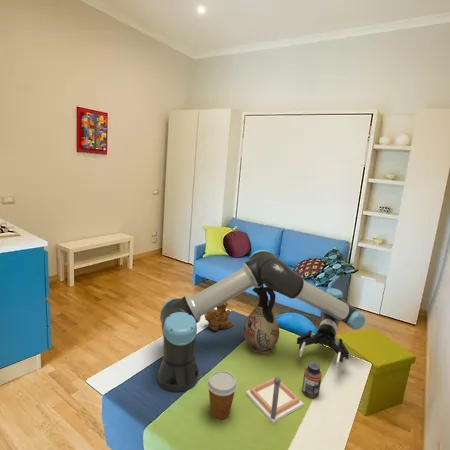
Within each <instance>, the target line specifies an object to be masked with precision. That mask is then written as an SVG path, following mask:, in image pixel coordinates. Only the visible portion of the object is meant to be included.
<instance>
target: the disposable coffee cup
mask: <svg viewBox="0 0 450 450" xmlns="http://www.w3.org/2000/svg"><path fill="white" fill-rule="evenodd" d="M207 387H208V393H209V394H208V395H209V397H208V398H209V407H210V415H211V417H212V418H214V419H217V420H221V421H222V420H226V419H227V418H229V416H230V414H231V411H232V406H233V401H234V396H235V391H236V390H237V388H238V382H237V379H236V377H235V376H234V374H233V373H231V372H230V371H226V370H217V371H214V372H213V373H212V374H210V376H209V377H208V379H207Z"/></svg>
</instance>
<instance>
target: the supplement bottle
mask: <svg viewBox="0 0 450 450" xmlns="http://www.w3.org/2000/svg"><path fill="white" fill-rule="evenodd" d="M320 368H321V365H320V364H319V363H318V362H315V361H310V362H308V365H307V366H306V368H304V373H303V374H304V375H303V379H302V380H303V382H302V386H301V387H302V389H301V390H302V393H303V394H304V395H305V396H306V397H308V398H311V399H315V398H318V396H319V394H320V388H321V384H322V383H321V382H322V376H323V373H322V370H321V369H320Z"/></svg>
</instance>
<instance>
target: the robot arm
mask: <svg viewBox="0 0 450 450" xmlns="http://www.w3.org/2000/svg"><path fill="white" fill-rule="evenodd" d="M262 285H264V287H268V288H270V289H272V290H273V291H274V292H276V293H278V294H281V295H283V296H284V297H287V298H288V299H292V300H294V299H297V300H299V301H300V302H303V303H305V304H306V305H309V306H311V307H312V308H315V309H317V310H318V311H321V312H322V316H321V321H320V322H319V323H320V324H319V326H318V329H317V331H316V333H314V332H313V331H312V330H311V329H309V331H308V332H306V333H304V334H302V335H301V336H299V337H297V338H296V339H297V340H296V344H297V345H298V350H299V357H300V358H302V357H303V354H304V351H305V350H306V349H305V348H306V347H307V346H310V345H311V346H312V345H313V344H315V345H319V344H320V345H323V346H326V347H328V348H330V349H331V350H332V351H333V352H334V353H335V354H336V355H337V358H336V362H335V363H336V364H335V369H339V364H340V363H343V362H344V361H343V360H344V359H345V360H348V359H349V355H350V352H349V351H348V349H347V347H346V345H345V344H344V343H343V339H342V338H339V339H336V335H337V332H338V328H339V324H340V322H342V323H344V324H346V325H347V326H348V328H351V329H352V330H355V331H356V330H360V329H362V328H363V327H364V325H365V323H366V317H365V315H364V314H363V313H362V312H361V311H360V310H358V309H357V308H355V307H354V306H353V305H351V304H350V303H348V302H347V301H346V300H344V299H343V295H344V294H343V291H341V290H340V289H338V288H333V287H331V288H326V290H325V291H324V290H322V289H320V288H318V287H316V286H315V285H313V284H311V283H309V282H307V281H306V280H305V279H304V277H303V276H301V275H299V274H298V273H296V272H295V271H294V270H293V269H292V268H290V267H289V266H288V264H286V263H285V261H282V260H281V259H280V258H278V257H277V256H276V255H275V254H274V253H272V252H271V251H268V250H266V249H260V250H256V251H254V252H252V253H251V254H250V256H249V259H248V260H247V261H246V262H244V263H243V264H242V268H240V269H238V270H236V271H234V272H233V273H231V274H230V275H227V276H226V277H224V278H222V279H221V280H219V281H217V282H215V283H214V284H212V285H210V286H208V287H207V288H204V289H203V290H201V291H200V292H198V293H195V294H194V295H192V296H188V295H185V296H183V297H179V298H178V297H173V298H170V299H168V300H166V301H165V303H164V304H163V305H162V307H161V310H160V317H159V320H160V323H161V330H162V338H163V347H162V349H163V351H162V361H161V363H160V365H159V368H158V371H157V382H158V384H159V386H160V387H161V388H163V389H164V390H166V391H169V392H173V393H181V392H186V391H189V390H191V389H192V388H194V387H195V386H196V385H197V383H198V382H199V379H200V370H199V366H198V363H197V360H196V351H197V349H196V347H197V346H196V345H197V334H198V325H197V323H199V322H200V320H201V318H202V316H205V315H204V314H205V313H207V312H209V311H211V310H212V309H217V307H218V306H219V305H221V304H223V303H225V302H228V301H230V300H231V299H233V298H235V297H237V296H239V295H240V294H241V293H244V292H246V291H247V290H249V289H250V288H255V287H256V288H259V287H261V286H262Z"/></svg>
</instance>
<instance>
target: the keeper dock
mask: <svg viewBox="0 0 450 450" xmlns="http://www.w3.org/2000/svg"><path fill="white" fill-rule="evenodd" d="M245 395H246V396H247V397H248V398H249V399H250V400H251V402H253V404H254V405H255V406H256V407H257V408H258V409H259V410H260V411H261V412H262V414H263V415H264V416H265V417H266V418H267V419H268V420H269V421H270V422H271V424H274V423H276V422H277V421H279V420H281V419H283V418H284V417H286V416H287V415H290V414H291V413H293V412H295V411H297V410H298V409H300V408H302V407H304V404H305V403H304V402H303V401H302V400H301V398H300V397H298V395H297V394H295V393H294V392H293V391H292V390H290V388H288V387H287V386H286V384H284V383H283V382H282V379H281V378H280V377H278V376H275V377H273V378H270V379H268V380H265V381H263V382H262V383H259V384H257V385H256V386H253V387H251V388H250V389H249V390H246V391H245Z"/></svg>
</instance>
